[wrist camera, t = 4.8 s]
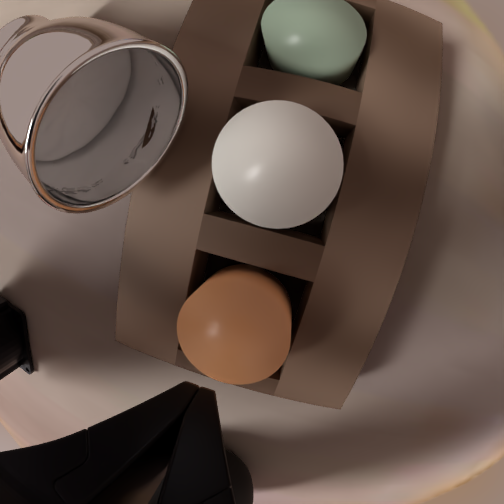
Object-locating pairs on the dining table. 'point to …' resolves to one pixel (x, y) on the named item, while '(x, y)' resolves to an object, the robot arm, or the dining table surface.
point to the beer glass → (87, 107)
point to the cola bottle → (238, 481)
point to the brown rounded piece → (237, 325)
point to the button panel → (285, 240)
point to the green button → (313, 38)
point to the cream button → (277, 164)
